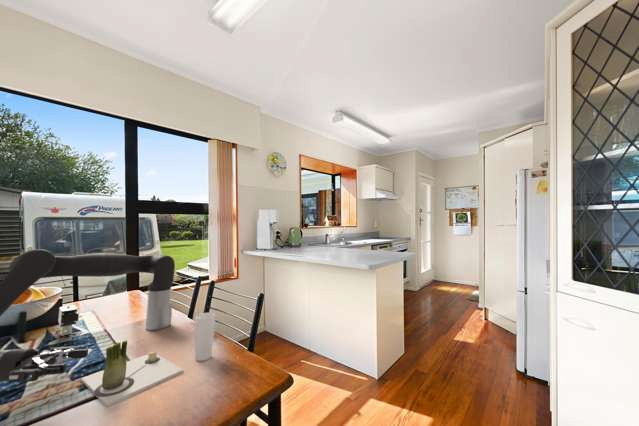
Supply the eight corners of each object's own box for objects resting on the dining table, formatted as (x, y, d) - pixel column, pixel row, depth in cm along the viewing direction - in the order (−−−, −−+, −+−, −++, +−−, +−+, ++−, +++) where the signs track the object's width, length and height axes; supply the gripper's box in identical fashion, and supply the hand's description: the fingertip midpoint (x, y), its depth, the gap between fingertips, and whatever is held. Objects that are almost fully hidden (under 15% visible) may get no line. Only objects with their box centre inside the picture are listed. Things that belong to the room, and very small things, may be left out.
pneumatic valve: (59, 339, 105) (62, 309, 105) (56, 331, 112) (59, 303, 113) (78, 335, 109) (80, 306, 110) (74, 328, 116) (76, 301, 117)
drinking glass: (217, 355, 94) (219, 313, 95) (203, 364, 88) (205, 319, 89) (202, 352, 97) (204, 311, 98) (188, 360, 90) (190, 317, 91)
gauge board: (153, 354, 94) (153, 345, 94) (183, 372, 83) (183, 361, 83) (78, 381, 77) (79, 370, 77) (104, 408, 66) (105, 394, 66)
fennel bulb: (124, 379, 77) (127, 337, 78) (128, 385, 74) (131, 342, 75) (99, 387, 73) (102, 344, 74) (102, 395, 70) (106, 349, 70)
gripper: (-22, 364, 62) (58, 359, 65) (30, 339, 76) (94, 336, 79) (-25, 397, 61) (55, 389, 65) (28, 366, 75) (92, 361, 79)
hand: (77, 360), depth 72 cm, fingers open, 8 cm apart
